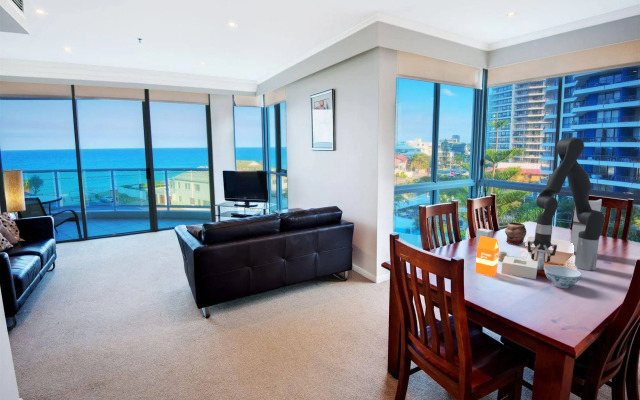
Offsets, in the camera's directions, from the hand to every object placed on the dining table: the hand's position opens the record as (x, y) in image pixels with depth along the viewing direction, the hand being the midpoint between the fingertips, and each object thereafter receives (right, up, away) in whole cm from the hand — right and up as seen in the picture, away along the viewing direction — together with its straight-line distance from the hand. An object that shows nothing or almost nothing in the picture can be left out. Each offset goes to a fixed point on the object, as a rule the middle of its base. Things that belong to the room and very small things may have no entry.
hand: (540, 260), depth 191 cm
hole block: (-14, -6, -4) cm, 16 cm away
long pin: (0, -5, +1) cm, 5 cm away
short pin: (-14, -2, +14) cm, 20 cm away
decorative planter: (+13, +4, +48) cm, 50 cm away
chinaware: (-3, -9, -21) cm, 23 cm away
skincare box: (-18, 0, +29) cm, 34 cm away
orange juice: (-32, -6, -4) cm, 33 cm away
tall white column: (+42, 0, +24) cm, 48 cm away
